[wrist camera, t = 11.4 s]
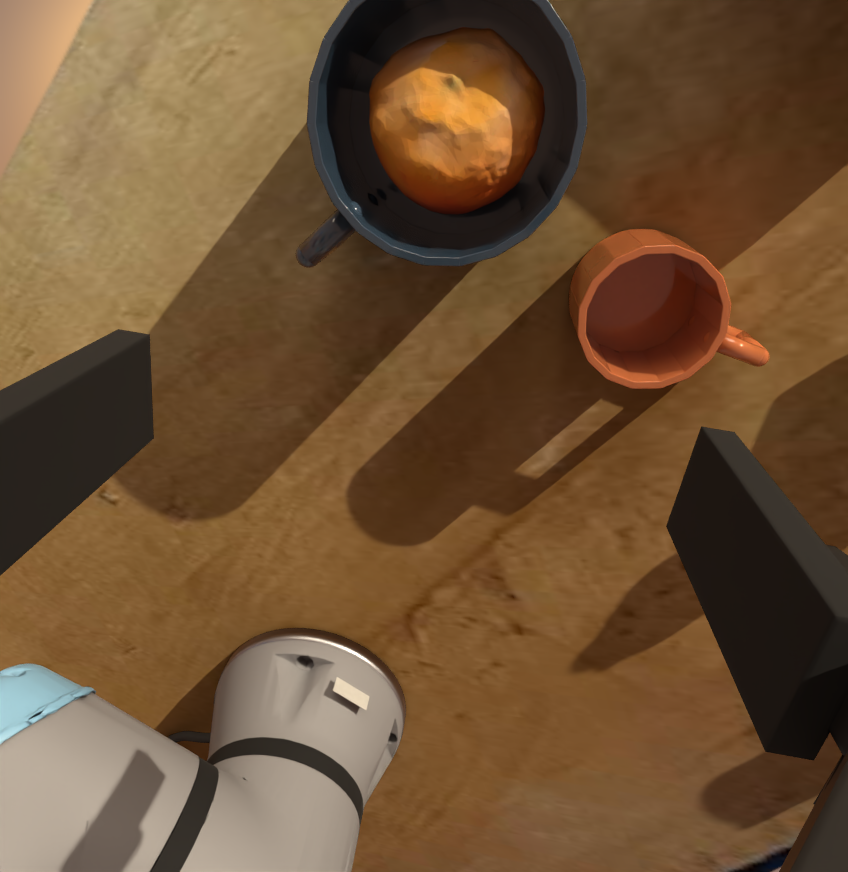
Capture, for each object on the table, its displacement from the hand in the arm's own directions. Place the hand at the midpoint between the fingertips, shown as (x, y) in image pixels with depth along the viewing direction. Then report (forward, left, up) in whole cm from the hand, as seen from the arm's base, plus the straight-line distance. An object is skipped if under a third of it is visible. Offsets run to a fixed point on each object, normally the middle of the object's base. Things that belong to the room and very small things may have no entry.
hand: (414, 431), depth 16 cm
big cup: (+2, +5, -24) cm, 25 cm away
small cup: (+7, -9, -24) cm, 27 cm away
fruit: (+4, +5, -24) cm, 25 cm away
